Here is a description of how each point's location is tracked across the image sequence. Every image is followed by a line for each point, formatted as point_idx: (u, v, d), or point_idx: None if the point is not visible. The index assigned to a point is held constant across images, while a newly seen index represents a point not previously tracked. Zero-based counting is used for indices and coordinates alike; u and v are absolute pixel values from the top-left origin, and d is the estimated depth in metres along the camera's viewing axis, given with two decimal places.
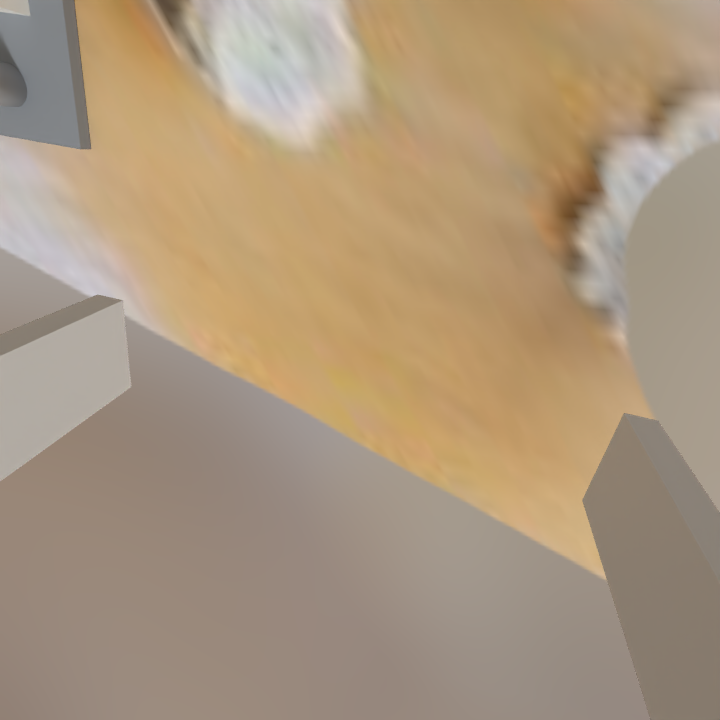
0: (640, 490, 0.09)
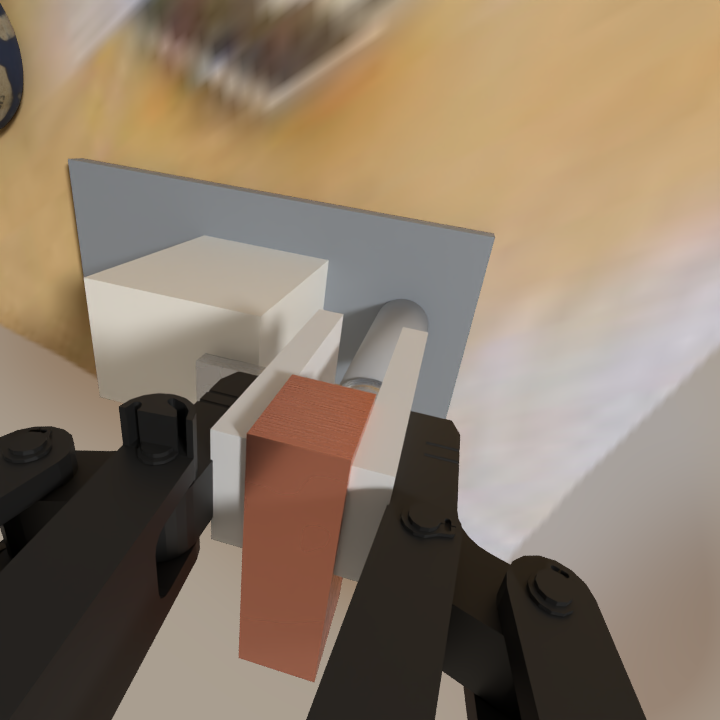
0: None
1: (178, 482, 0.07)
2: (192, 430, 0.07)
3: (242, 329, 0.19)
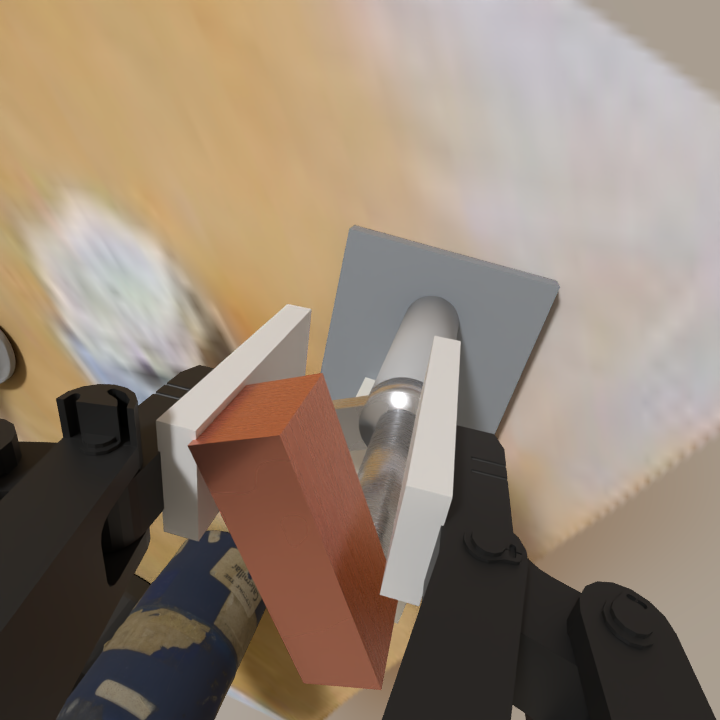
0: None
1: (122, 470, 0.07)
2: (134, 418, 0.07)
3: None
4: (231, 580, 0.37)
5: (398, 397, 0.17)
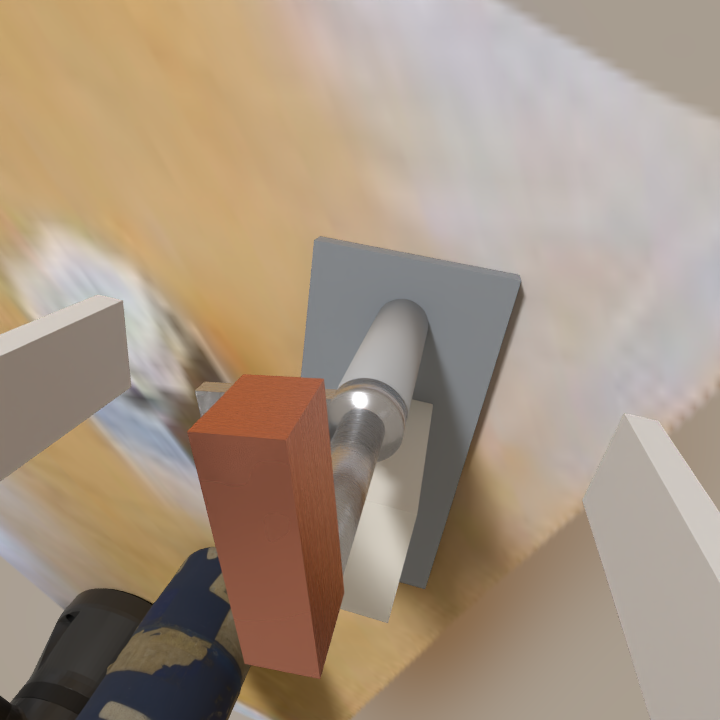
0: (640, 490, 0.09)
1: None
2: None
3: None
4: None
5: (367, 398, 0.17)
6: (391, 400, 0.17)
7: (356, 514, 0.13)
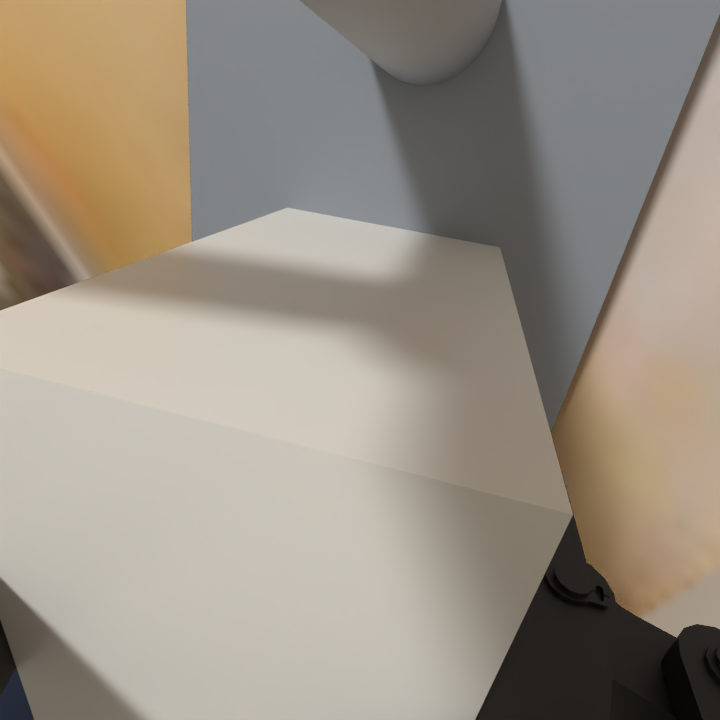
0: None
1: None
2: None
3: None
4: None
5: None
6: None
7: None
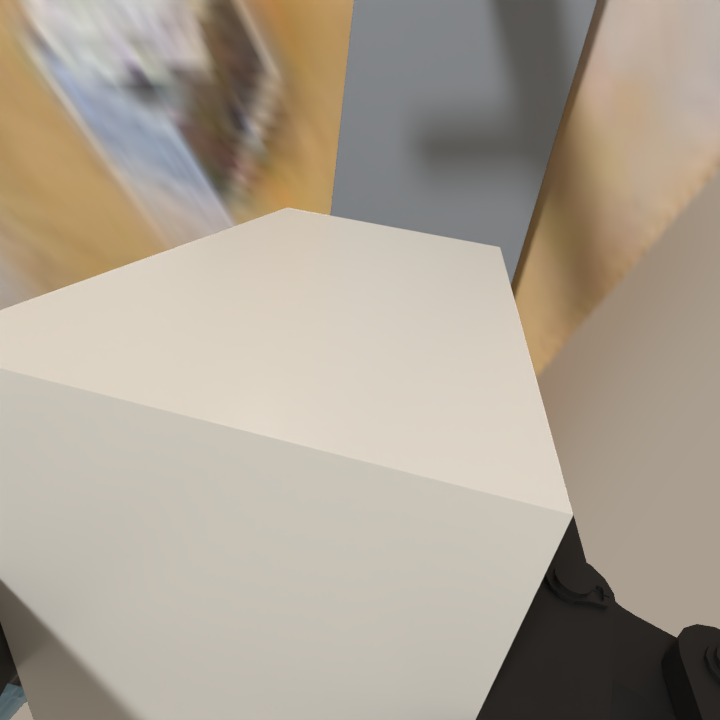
0: None
1: None
2: None
3: None
4: None
5: None
6: None
7: None
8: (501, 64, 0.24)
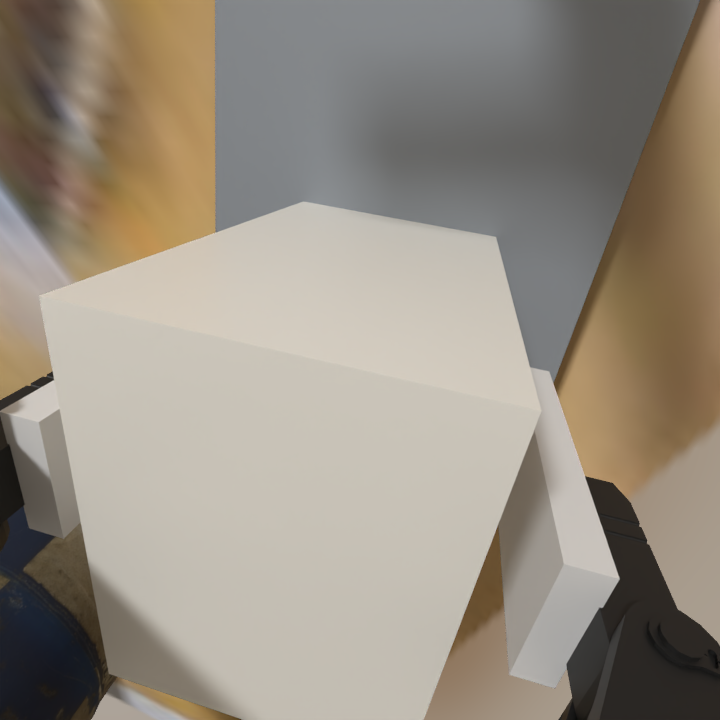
0: None
1: None
2: None
3: (100, 366, 0.06)
4: None
5: None
6: None
7: None
8: None
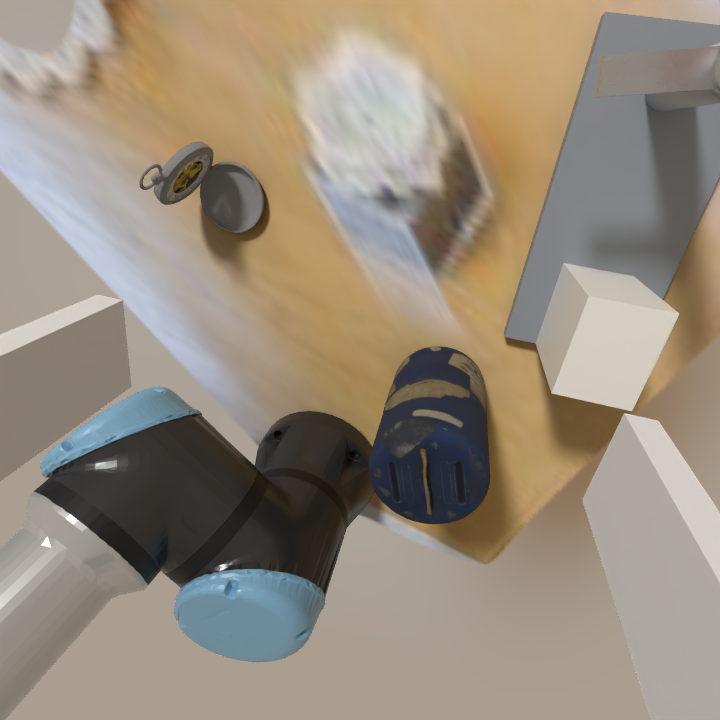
0: (640, 491, 0.09)
1: None
2: None
3: (595, 308, 0.32)
4: (466, 370, 0.44)
5: None
6: None
7: None
8: (655, 201, 0.38)
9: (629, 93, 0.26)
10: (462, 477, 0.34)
